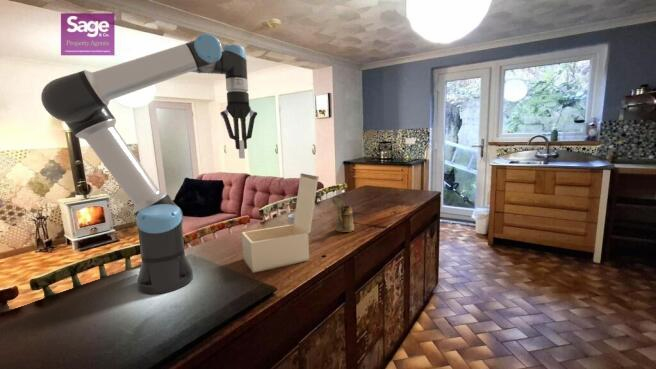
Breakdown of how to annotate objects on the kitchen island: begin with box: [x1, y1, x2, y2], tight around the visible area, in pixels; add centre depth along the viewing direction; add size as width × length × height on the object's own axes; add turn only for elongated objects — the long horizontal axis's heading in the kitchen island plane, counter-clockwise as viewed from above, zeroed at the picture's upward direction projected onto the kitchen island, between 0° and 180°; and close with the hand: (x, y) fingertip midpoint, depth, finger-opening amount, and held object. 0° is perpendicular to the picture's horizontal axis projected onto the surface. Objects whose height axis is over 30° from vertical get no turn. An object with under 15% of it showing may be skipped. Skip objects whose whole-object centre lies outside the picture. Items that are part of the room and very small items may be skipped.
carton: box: [241, 224, 310, 274], centre depth 110 cm, size 20×14×10 cm
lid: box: [294, 172, 319, 234], centre depth 114 cm, size 20×14×1 cm
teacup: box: [287, 212, 303, 230], centre depth 147 cm, size 14×11×8 cm
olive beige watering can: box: [331, 195, 355, 233], centre depth 142 cm, size 9×14×18 cm, turn 150°
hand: (242, 158), depth 113 cm, fingers closed
